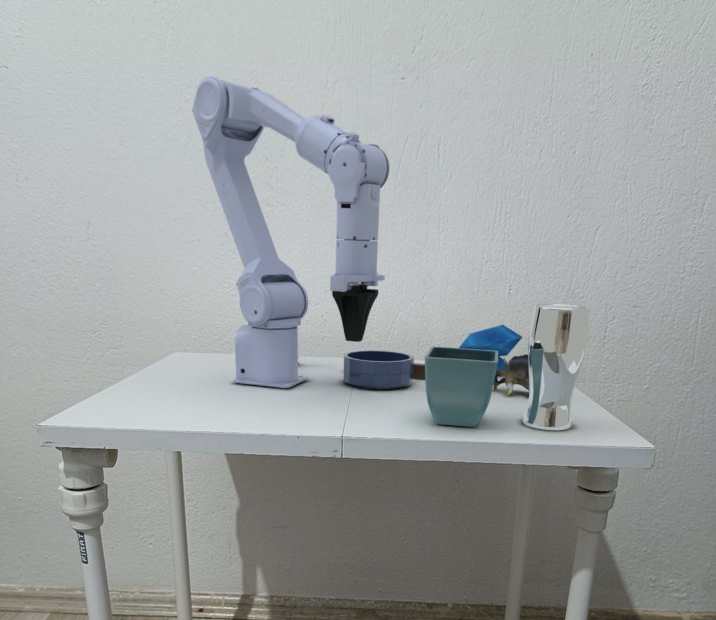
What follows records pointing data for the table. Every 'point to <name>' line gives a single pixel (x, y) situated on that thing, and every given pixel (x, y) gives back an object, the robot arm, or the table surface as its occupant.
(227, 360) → the table surface
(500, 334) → the crystal
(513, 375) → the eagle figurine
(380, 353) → the bowl
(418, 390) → the table surface
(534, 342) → the beer glass
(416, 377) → the rail
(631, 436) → the table surface
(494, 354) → the flower pot
